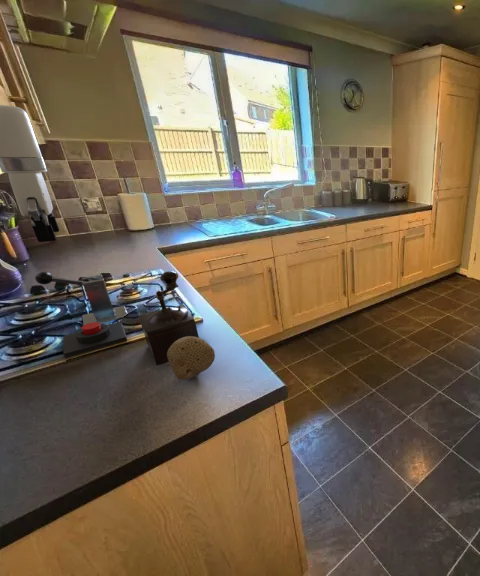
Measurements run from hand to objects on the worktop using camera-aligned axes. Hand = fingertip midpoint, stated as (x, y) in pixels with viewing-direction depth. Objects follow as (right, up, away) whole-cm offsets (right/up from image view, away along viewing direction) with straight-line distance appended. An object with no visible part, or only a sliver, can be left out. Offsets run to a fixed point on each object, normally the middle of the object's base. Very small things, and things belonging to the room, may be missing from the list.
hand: (49, 236), depth 83 cm
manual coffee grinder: (+30, -28, +3) cm, 41 cm away
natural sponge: (+42, -34, -7) cm, 54 cm away
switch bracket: (+3, -22, +13) cm, 26 cm away
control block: (+10, -28, +2) cm, 30 cm away
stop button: (+11, -24, 0) cm, 27 cm away
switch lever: (0, -13, +5) cm, 14 cm away
